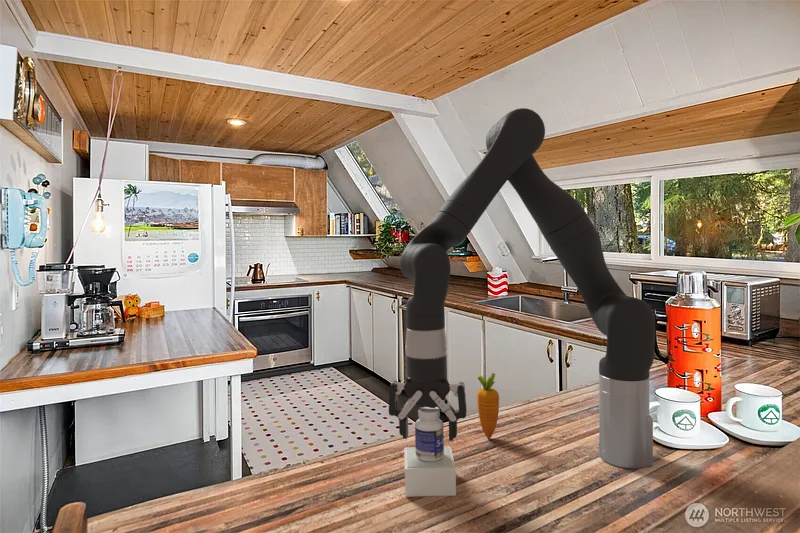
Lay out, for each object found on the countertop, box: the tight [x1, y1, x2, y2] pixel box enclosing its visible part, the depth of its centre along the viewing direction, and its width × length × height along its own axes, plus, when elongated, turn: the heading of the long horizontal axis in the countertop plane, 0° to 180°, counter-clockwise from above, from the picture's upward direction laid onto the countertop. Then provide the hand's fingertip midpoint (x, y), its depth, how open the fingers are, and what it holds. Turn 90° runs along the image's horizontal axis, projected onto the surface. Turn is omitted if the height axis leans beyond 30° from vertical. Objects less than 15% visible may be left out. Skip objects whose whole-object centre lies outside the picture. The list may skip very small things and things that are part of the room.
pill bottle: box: [414, 406, 445, 462], centre depth 90 cm, size 5×5×9 cm
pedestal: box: [403, 446, 457, 498], centre depth 90 cm, size 9×9×5 cm
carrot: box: [476, 372, 500, 440], centre depth 110 cm, size 5×5×15 cm
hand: (428, 438), depth 90 cm, fingers open, 8 cm apart
